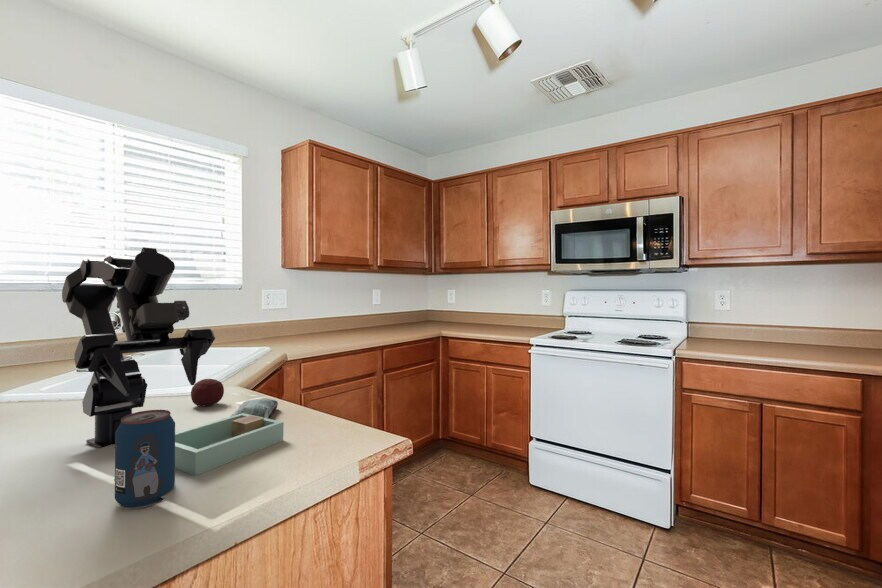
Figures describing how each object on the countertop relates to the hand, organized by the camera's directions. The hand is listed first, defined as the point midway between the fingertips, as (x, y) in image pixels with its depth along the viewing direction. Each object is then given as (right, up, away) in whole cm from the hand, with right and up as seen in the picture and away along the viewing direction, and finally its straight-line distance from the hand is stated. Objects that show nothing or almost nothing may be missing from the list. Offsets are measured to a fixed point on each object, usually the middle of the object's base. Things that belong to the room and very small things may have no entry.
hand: (162, 389), depth 65 cm
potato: (-16, -14, +39) cm, 44 cm away
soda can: (+3, -14, -8) cm, 16 cm away
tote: (+5, -14, +8) cm, 17 cm away
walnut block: (+8, -13, +13) cm, 20 cm away
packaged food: (+2, -14, +27) cm, 31 cm away
